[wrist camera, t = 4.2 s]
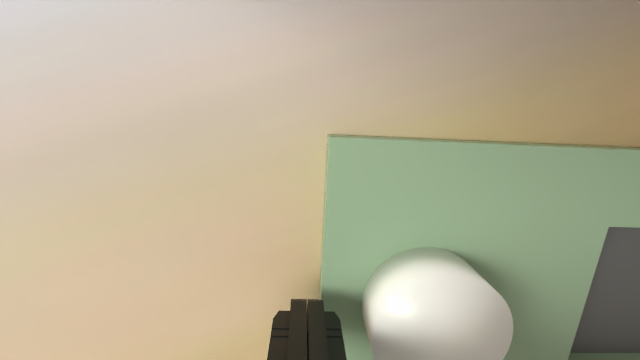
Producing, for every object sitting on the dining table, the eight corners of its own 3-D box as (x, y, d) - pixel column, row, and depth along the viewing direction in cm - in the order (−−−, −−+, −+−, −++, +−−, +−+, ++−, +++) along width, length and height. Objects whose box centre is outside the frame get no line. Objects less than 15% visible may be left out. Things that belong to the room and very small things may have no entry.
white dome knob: (366, 245, 14) (379, 275, 11) (489, 248, 14) (527, 277, 12) (356, 351, 15) (366, 397, 13) (468, 350, 16) (498, 395, 13)
